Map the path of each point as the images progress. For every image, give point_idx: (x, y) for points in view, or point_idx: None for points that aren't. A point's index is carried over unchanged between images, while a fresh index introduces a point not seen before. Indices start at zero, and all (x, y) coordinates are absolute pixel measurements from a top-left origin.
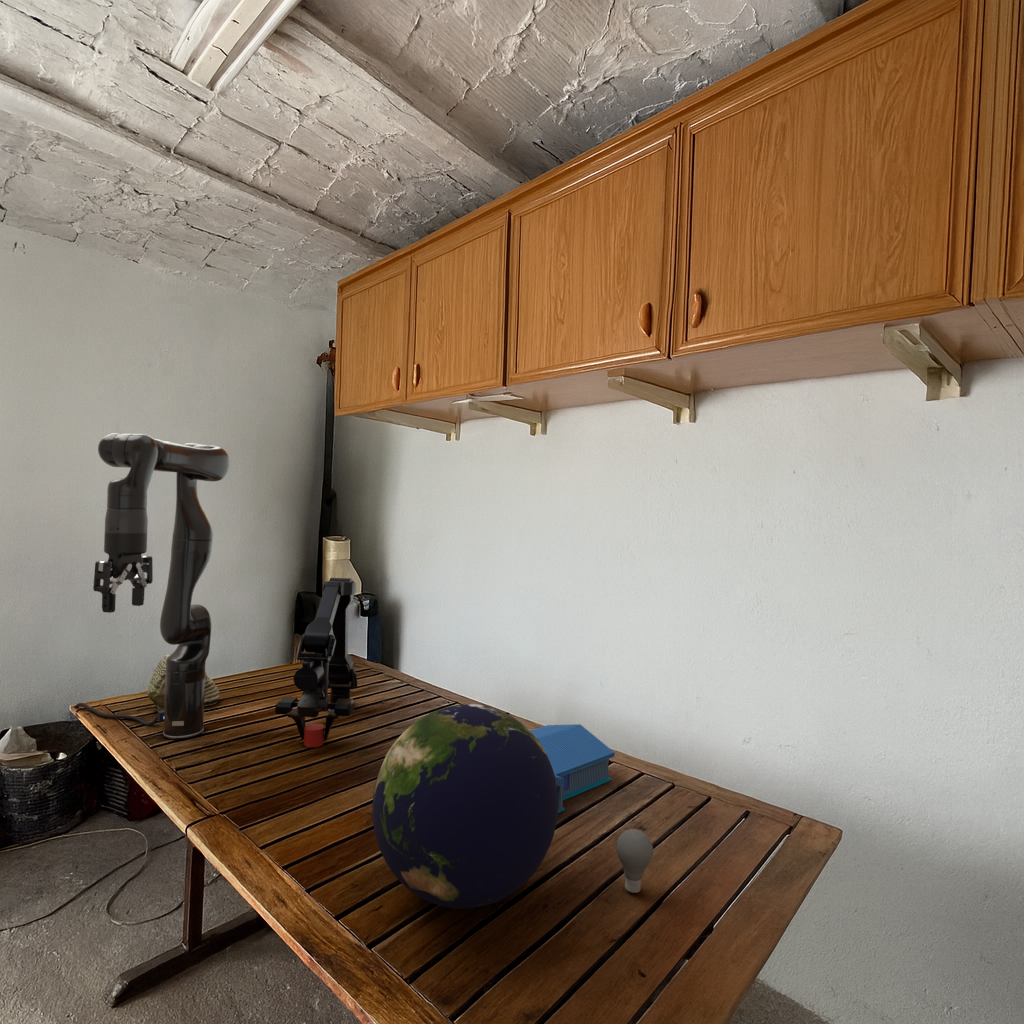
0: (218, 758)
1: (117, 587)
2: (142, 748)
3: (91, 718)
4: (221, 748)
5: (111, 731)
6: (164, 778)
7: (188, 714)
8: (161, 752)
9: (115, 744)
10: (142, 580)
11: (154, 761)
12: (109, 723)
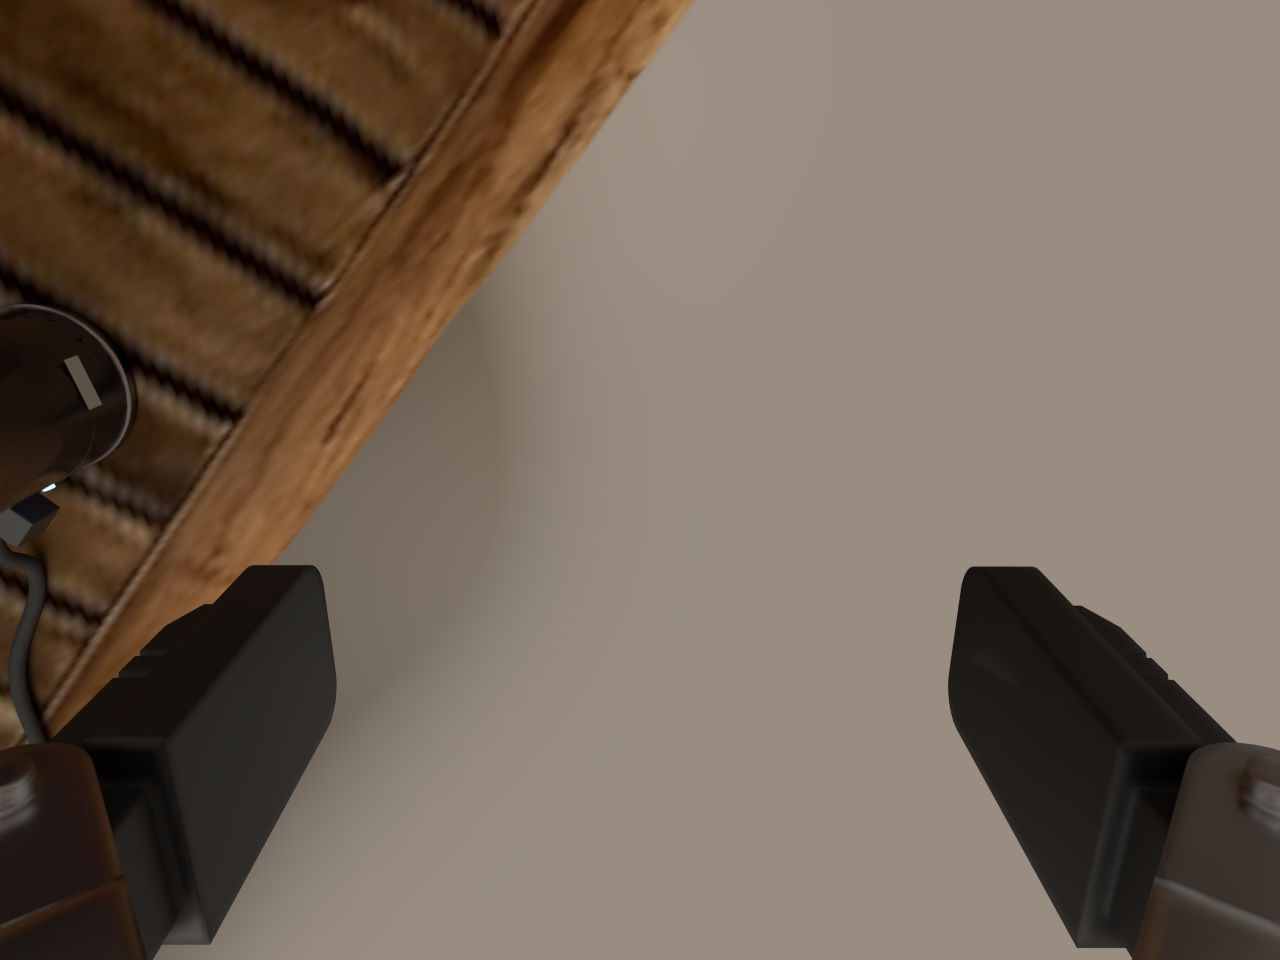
0: (233, 52)
1: (1176, 846)
2: (256, 447)
3: None
4: (129, 106)
5: None
6: (482, 170)
7: (24, 353)
8: (264, 347)
9: None
10: (35, 902)
11: (351, 317)
12: None
